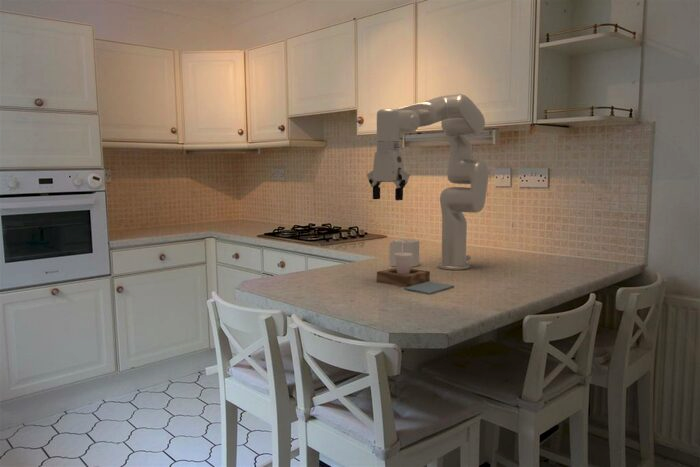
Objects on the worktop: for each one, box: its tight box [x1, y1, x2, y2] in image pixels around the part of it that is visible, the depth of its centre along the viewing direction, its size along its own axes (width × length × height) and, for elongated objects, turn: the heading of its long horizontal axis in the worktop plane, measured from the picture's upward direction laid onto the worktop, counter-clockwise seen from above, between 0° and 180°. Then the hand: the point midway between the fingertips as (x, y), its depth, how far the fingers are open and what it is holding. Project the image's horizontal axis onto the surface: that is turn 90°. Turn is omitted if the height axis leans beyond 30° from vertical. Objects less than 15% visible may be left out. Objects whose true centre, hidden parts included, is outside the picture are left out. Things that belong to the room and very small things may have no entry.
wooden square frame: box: [376, 267, 431, 288], centre depth 186 cm, size 13×13×4 cm
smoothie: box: [394, 242, 413, 275], centre depth 186 cm, size 6×6×14 cm
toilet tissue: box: [388, 238, 420, 268], centre depth 218 cm, size 11×12×10 cm
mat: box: [403, 281, 455, 295], centre depth 176 cm, size 14×10×1 cm
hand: (387, 199), depth 179 cm, fingers open, 9 cm apart
